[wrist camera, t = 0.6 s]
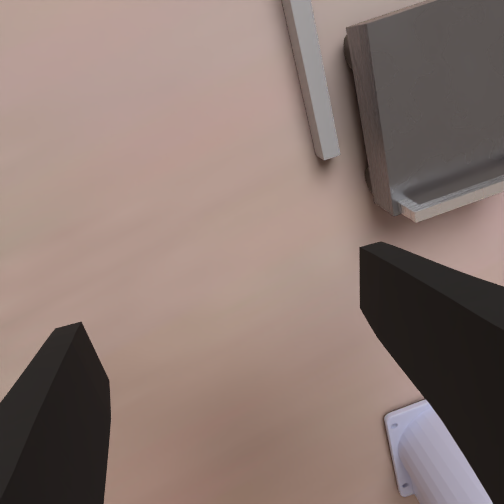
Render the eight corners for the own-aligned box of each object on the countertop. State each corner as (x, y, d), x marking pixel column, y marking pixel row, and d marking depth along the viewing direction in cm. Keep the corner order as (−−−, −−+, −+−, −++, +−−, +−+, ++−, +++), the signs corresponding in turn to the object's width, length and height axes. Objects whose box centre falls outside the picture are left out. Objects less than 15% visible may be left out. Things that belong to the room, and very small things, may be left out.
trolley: (489, 153, 22) (561, 174, 18) (365, 196, 21) (410, 227, 17) (486, -21, 18) (575, -44, 14) (337, 29, 18) (385, 20, 14)
